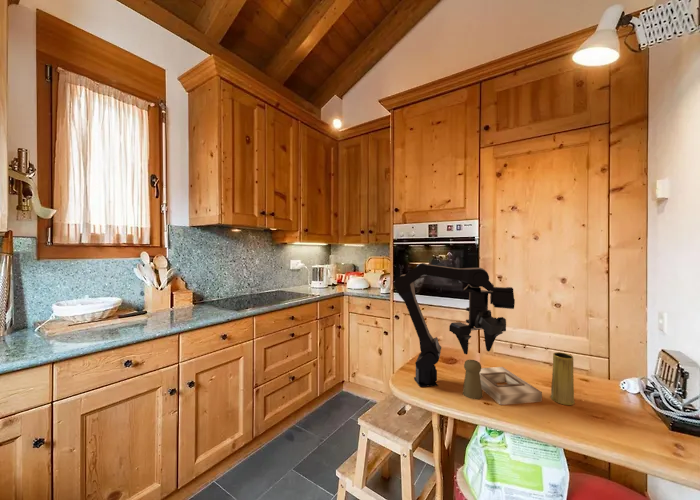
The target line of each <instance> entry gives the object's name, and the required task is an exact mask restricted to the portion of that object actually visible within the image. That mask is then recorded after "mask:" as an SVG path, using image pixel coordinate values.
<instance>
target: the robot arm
mask: <svg viewBox="0 0 700 500" xmlns="http://www.w3.org/2000/svg"><path fill="white" fill-rule="evenodd" d="M422 276H429V277H438V278H445V279H449V280H450V279H451V280H457V281H460V282H463V283H466V284H467V286H466V287H464V288H463V292H465V293H469V296H468V297H469V299H468V300H469V301H468V307H466V309H465V310H466V311H467V312H468V318H467V319H466V320H465V322H461V321H457V322H451V323H450V324H449V328H448V329H449V332H451V333H452V334H453V335H455V336H456V338H457V340H458V342H459V345H460V346H461V349H462V352H463V354H464V355H466V356H467V355H468V352H469V340H470V339H471V338H472V335H470V334H471V333H472V332H473V331H477V330H478V331H481V330H483V338H484V344H485V349H486V351H487V352H489V353H490V351H491V349H492V347H493V345H494V342H495V340H496V338H497V337H498V336H499V335H502V334H503V333H504V332H506V331H507V319H506V318H505V317H503V316H501V317H500V316H499V317H494V316H492V310H490V309H489V307H488V306H489V304H490V305H492V306H493V308H498V309H509V310H514V309H515V303H516V302H515V295H514V288H513V287H511V286H510V287H509V286H507V287H500V286H494V283H493V282H491V281H490V275H489V273H488V272H487V270H485V268H482V267H463V268H458V267H452V266H443V265H437V264H436V265H435V264H428V263H426V262H425V263H424V262H421V263H419V264H417V265H416V266H415V267H414V268H413V269H412V270H410V271H408V272H407V273H406V274H401V275H399V276H398V277H396V278H395V279H394V281H393V286H394V288H395V290H396V293H397V294H398V296H399V297H400V298H401V299H402V300H403V302H404V304H405V306H406V309H407V311H408V315H409V317H410V319H411V321H412V323H413V324H412V325H413V328H414V329H415V331H416V334H417V337H418V340H419V350H420V353H419V354H418V355H417V359H416V361H415V376H414V377H413V380H414V381H415V382H416V384H417V385H418V386H419V387H420V388H424V387H427V388H428V387H437V386H438V385H439V384H438V370H437V369H436V368H437V367H436V365H437V364H438V363H439V360H440V358H441V357H440V356H441V351H442V346H441V345H440V343H439V339H438V336H436V337H433V336H432V334H431V333H430V330H429V328H428V326H427V323H426V320H425V317H424V316H423V313H422V309H421V307H420V305H419V303H418V299H417V298H416V297H417V296H416V291H415V289H416V288H415V284H414V282H415V281H417V280H418V279H419V278H421V277H422ZM482 288H483V289H482ZM484 289H485V290H484Z"/></svg>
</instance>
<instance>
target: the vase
mask: <svg viewBox="0 0 700 500" xmlns="http://www.w3.org/2000/svg"><path fill="white" fill-rule="evenodd" d="M551 375H552V376H551V388H550V391H551V393H550V399H551V400H552V401H554V402H555V403H558V404H560V405H564V406H573V405H575V402H576V401H575V389H574V388H575V387H574V386H575V385H574V383H575V382H574V381H575V380H574V356H573V355H571V354H570V353H565V352H559V351H558V352H553V353H552V373H551Z"/></svg>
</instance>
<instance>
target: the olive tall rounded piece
mask: <svg viewBox="0 0 700 500" xmlns="http://www.w3.org/2000/svg"><path fill="white" fill-rule="evenodd" d="M463 367H464V370H465V372H464V373H465V375H464V381H463V387H462V395H463V396H464V397H466V398H468V399H471V400H480V399H481V400H482V399H483V396H484V395H483V390H482V388H481V380H480V373H479V372H480V371H481V368H482V364H481V363H480V362H479V361H478V360H475V359H466V360H465V361H464V364H463Z"/></svg>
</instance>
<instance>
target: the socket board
mask: <svg viewBox="0 0 700 500" xmlns="http://www.w3.org/2000/svg"><path fill="white" fill-rule="evenodd" d="M479 373H480V380H481V388H482V392H485V394H487V395H488V396H489V397H490V398H491V399H493V400H494V401H495V402H496V403H497V404H499V405H501V406H504V405H505V406H506V405H515V404H529V403H539V402H540V403H541V402H543V399H542V398H543V392H542V391H541V390H539V389H538V388H537V387H535V386H533V385H532V384H530V383H528V382H527V381H526V380H524V379H522V378H521V377H519V376H518V375H516V374H514V373H513V372H512V371H510V370H508V368H505V367H504V366H495V367H493V366H492V367H491V366H490V367H481V371H480V372H479ZM498 383H504V384H498Z"/></svg>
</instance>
